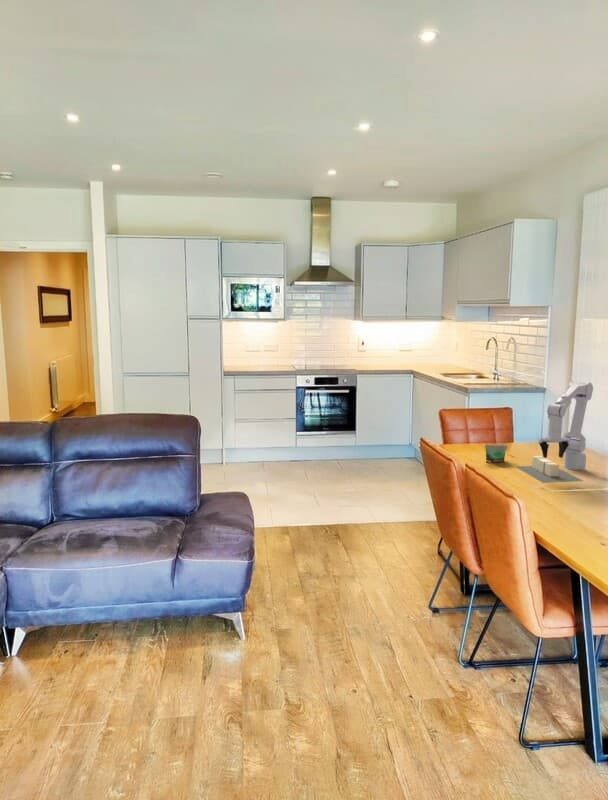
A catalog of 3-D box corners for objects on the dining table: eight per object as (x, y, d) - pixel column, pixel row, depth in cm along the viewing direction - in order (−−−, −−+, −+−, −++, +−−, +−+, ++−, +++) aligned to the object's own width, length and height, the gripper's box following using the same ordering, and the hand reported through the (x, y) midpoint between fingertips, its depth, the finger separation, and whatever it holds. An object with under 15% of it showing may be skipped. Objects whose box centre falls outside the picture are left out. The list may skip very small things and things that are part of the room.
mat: (552, 466, 280) (552, 465, 280) (583, 482, 254) (583, 481, 254) (515, 468, 278) (515, 466, 277) (542, 484, 252) (542, 482, 252)
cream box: (540, 466, 277) (540, 456, 276) (552, 473, 266) (553, 462, 265) (531, 467, 276) (532, 456, 275) (543, 473, 266) (544, 462, 265)
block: (552, 473, 266) (553, 462, 265) (558, 476, 261) (559, 465, 260) (544, 473, 265) (544, 462, 264) (549, 476, 260) (550, 465, 259)
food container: (490, 466, 281) (491, 447, 280) (483, 462, 287) (484, 444, 286) (511, 464, 285) (512, 445, 283) (504, 460, 290) (505, 442, 289)
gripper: (544, 431, 254) (541, 459, 256) (574, 430, 255) (572, 459, 257) (536, 428, 261) (534, 455, 263) (566, 427, 262) (564, 455, 264)
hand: (552, 457), depth 260 cm, fingers open, 7 cm apart
